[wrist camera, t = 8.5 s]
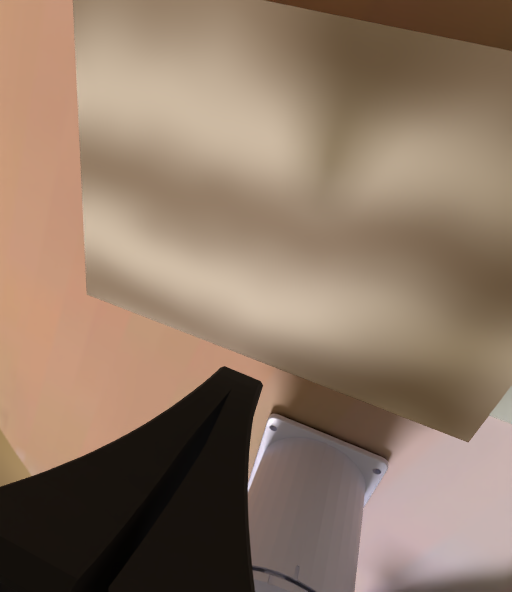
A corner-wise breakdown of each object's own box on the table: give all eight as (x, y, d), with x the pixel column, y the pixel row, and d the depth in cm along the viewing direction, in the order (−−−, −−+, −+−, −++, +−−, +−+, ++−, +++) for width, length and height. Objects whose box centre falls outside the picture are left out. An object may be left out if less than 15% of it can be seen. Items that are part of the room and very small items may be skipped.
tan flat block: (458, 384, 21) (468, 442, 17) (130, 265, 24) (86, 294, 21) (650, 92, 13) (731, 95, 10) (137, -16, 17) (71, -40, 14)
